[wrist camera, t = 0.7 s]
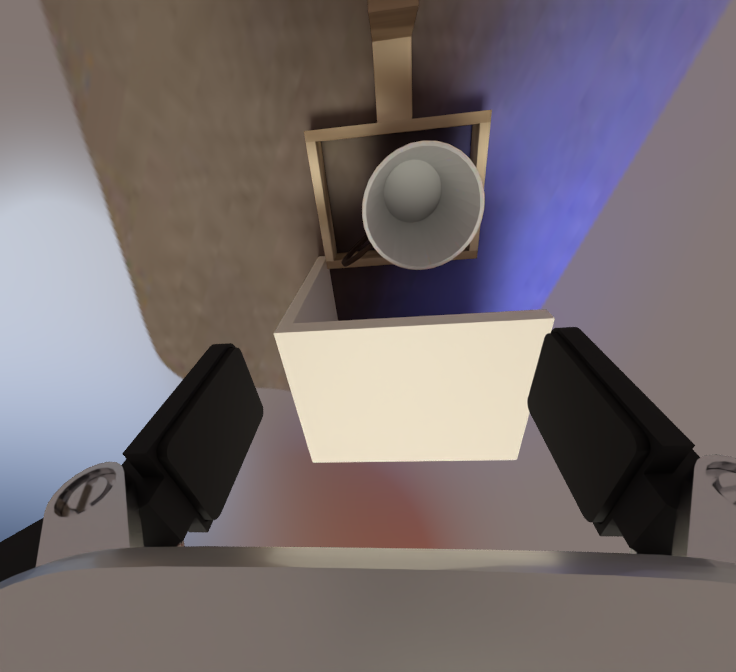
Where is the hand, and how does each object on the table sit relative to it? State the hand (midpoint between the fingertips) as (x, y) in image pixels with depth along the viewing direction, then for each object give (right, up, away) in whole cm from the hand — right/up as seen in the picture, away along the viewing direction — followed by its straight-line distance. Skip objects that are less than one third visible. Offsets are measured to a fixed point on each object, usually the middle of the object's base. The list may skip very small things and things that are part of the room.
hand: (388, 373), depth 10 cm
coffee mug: (+2, +15, +21) cm, 26 cm away
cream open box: (+3, +5, +27) cm, 28 cm away
